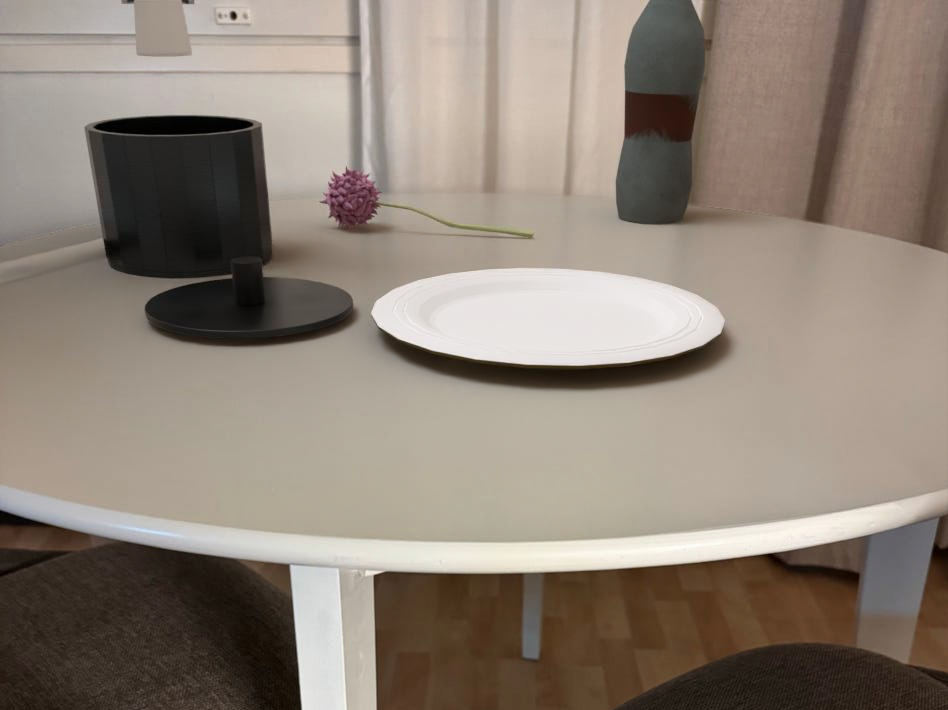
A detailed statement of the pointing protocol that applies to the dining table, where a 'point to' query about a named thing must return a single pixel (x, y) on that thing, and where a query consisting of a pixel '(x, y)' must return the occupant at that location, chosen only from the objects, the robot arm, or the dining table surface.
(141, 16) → the salt shaker
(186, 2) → the robot arm
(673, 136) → the bottle
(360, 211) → the artificial flower
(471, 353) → the plate
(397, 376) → the dining table surface
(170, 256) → the trash can
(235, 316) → the bin lid
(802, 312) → the dining table surface
